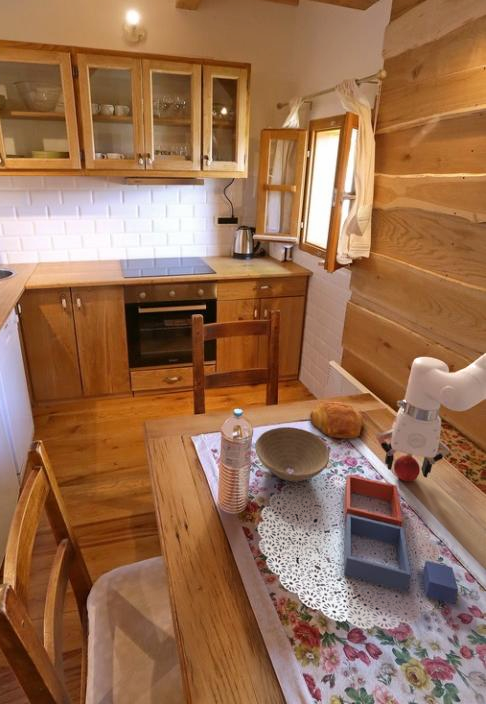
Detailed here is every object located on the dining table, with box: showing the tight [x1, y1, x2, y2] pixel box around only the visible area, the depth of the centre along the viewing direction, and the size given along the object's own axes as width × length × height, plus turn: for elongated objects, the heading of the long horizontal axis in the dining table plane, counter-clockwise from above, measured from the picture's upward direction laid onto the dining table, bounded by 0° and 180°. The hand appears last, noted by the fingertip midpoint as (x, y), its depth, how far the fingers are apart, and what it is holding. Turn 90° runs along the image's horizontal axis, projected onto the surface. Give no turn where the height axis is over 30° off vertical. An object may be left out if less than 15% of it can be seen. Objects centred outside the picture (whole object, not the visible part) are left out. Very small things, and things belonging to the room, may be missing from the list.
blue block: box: [421, 560, 459, 604], centre depth 74 cm, size 4×4×4 cm
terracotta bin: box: [343, 474, 403, 527], centre depth 91 cm, size 11×11×5 cm
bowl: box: [254, 426, 330, 483], centre depth 102 cm, size 18×18×8 cm
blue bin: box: [343, 514, 412, 593], centre depth 79 cm, size 11×11×5 cm
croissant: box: [309, 401, 364, 439], centre depth 122 cm, size 14×16×8 cm
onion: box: [393, 453, 421, 482], centre depth 101 cm, size 6×6×8 cm
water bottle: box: [217, 408, 254, 515], centre depth 88 cm, size 7×7×25 cm
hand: (406, 469), depth 101 cm, fingers open, 7 cm apart
